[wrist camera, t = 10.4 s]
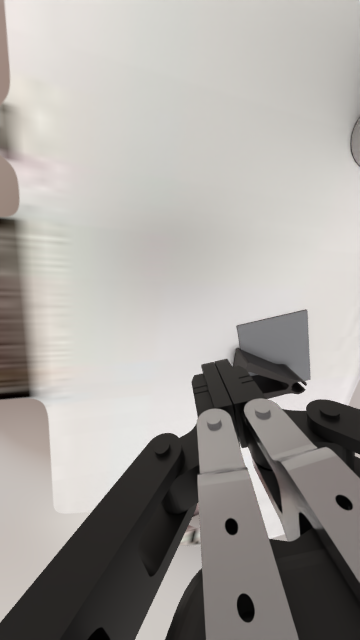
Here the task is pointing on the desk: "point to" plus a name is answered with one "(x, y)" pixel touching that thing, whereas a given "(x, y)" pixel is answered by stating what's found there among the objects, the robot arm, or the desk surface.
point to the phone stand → (269, 375)
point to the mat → (279, 341)
